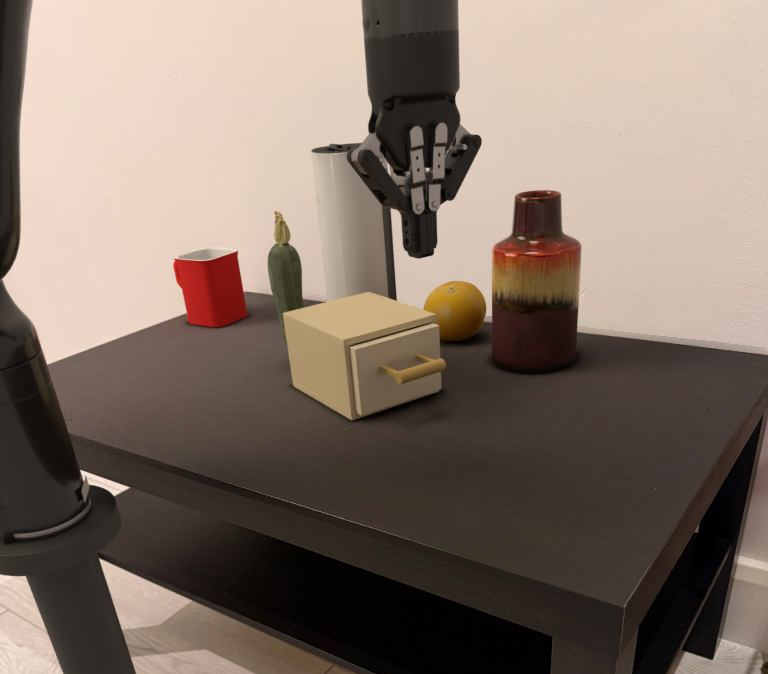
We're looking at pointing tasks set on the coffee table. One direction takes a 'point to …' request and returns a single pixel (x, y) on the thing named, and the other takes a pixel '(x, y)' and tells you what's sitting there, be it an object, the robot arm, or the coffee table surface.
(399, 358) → the drawer
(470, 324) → the fruit
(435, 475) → the coffee table surface
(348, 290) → the speaker
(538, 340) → the vase
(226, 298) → the mug
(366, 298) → the cabinet
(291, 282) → the vegetable
